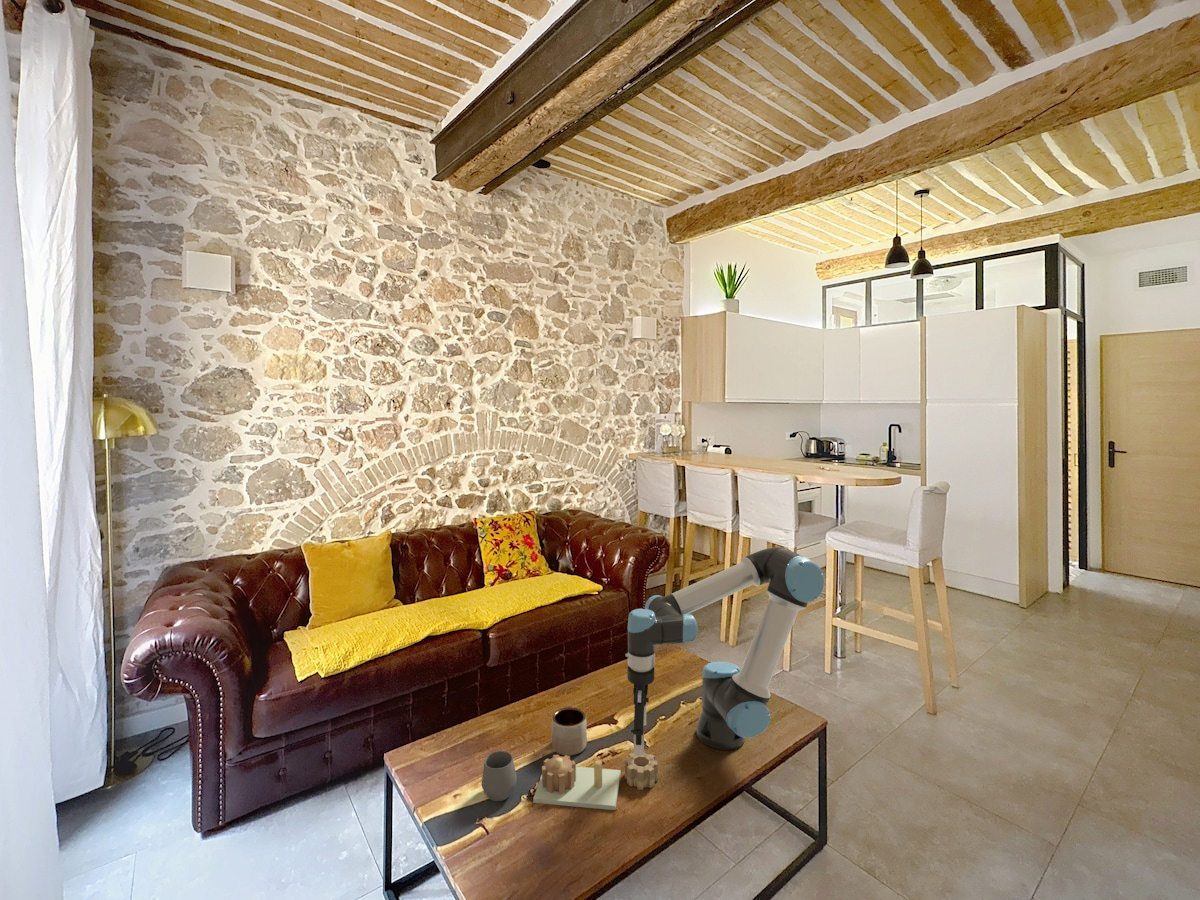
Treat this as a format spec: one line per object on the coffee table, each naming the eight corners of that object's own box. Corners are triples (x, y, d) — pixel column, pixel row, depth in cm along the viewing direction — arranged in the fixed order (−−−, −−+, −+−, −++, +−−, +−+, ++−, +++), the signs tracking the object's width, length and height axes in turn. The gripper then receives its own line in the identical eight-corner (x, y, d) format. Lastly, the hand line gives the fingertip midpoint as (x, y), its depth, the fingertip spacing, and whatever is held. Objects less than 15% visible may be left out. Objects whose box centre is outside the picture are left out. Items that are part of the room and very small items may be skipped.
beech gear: (658, 768, 158) (658, 752, 158) (657, 791, 149) (657, 773, 148) (626, 766, 159) (626, 750, 159) (623, 788, 150) (623, 771, 150)
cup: (500, 812, 142) (499, 775, 141) (474, 798, 147) (473, 763, 146) (524, 790, 150) (523, 755, 149) (498, 777, 155) (497, 744, 154)
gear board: (620, 774, 156) (620, 748, 155) (615, 810, 142) (615, 782, 141) (545, 767, 159) (545, 742, 158) (533, 802, 145) (532, 775, 144)
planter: (582, 759, 163) (582, 728, 162) (547, 754, 165) (547, 724, 164) (590, 737, 173) (590, 708, 172) (557, 733, 175) (556, 705, 175)
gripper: (630, 645, 164) (630, 712, 166) (623, 688, 139) (622, 766, 141) (655, 647, 163) (654, 714, 165) (652, 690, 138) (651, 769, 140)
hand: (640, 738), depth 153 cm, fingers open, 13 cm apart
